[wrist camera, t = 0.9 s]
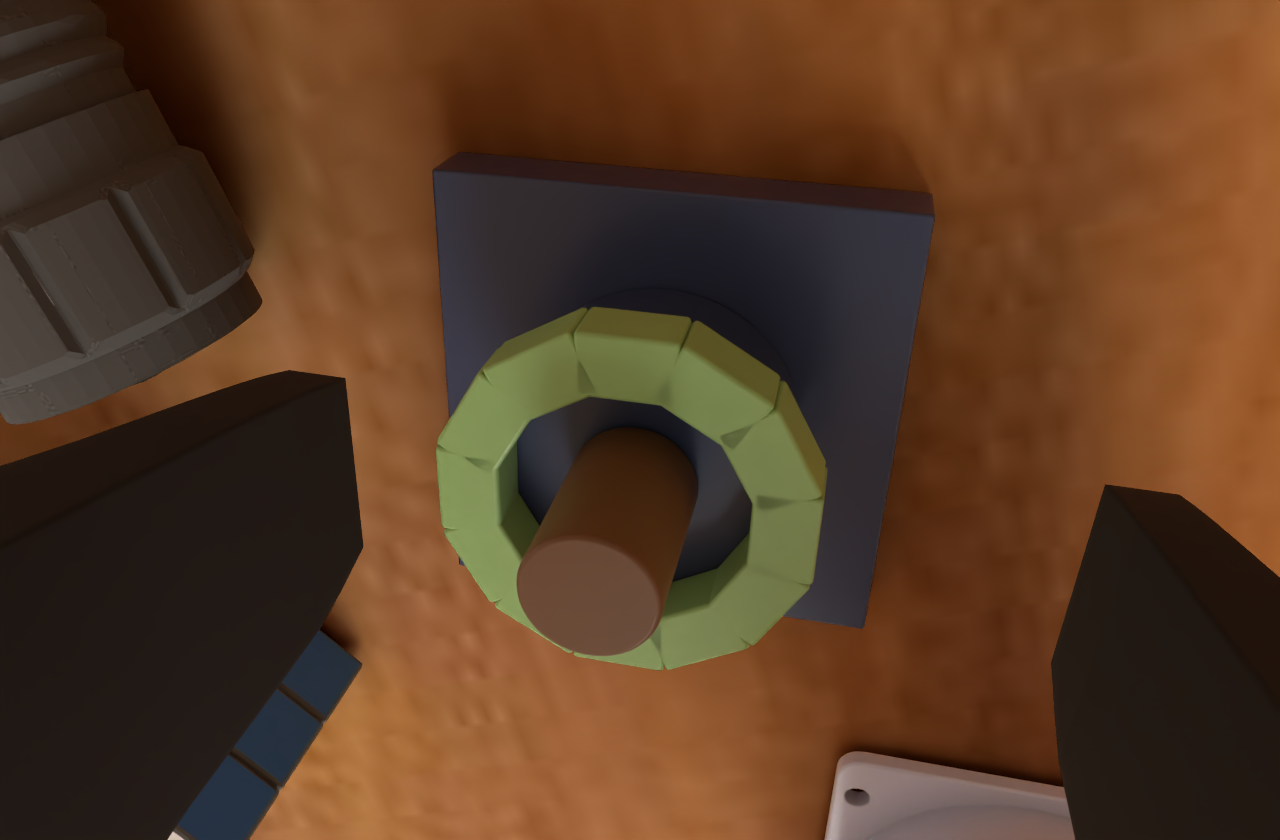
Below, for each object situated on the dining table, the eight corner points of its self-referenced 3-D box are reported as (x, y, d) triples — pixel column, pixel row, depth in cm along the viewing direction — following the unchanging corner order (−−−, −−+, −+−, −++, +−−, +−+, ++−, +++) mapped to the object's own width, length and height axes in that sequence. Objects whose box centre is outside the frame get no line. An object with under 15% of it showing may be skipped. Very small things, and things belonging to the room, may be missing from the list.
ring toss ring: (802, 653, 17) (797, 695, 16) (469, 599, 18) (448, 635, 17) (846, 333, 14) (843, 362, 13) (449, 288, 15) (422, 314, 14)
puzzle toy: (65, 628, 26) (-130, 810, 21) (166, 503, 23) (-30, 679, 18) (247, 767, 27) (103, 970, 22) (365, 663, 24) (230, 869, 19)
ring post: (865, 591, 20) (855, 863, 15) (478, 532, 22) (338, 761, 16) (932, 192, 17) (952, 360, 11) (457, 151, 18) (264, 282, 12)
